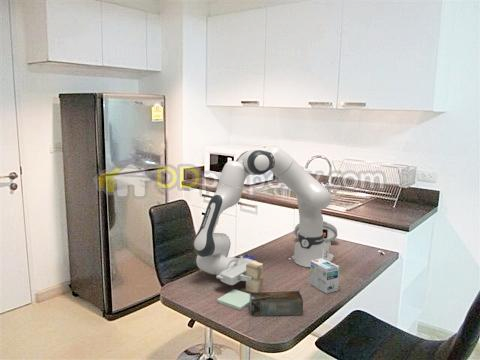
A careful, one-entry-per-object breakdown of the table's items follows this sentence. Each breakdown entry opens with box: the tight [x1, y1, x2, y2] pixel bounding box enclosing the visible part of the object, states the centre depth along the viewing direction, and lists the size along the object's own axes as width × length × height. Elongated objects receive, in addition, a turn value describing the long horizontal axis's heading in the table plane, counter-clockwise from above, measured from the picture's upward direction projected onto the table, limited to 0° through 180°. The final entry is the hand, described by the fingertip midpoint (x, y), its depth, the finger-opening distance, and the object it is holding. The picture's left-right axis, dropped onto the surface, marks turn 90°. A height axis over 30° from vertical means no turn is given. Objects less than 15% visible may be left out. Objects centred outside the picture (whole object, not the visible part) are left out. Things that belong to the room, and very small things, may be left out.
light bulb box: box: [309, 258, 340, 294], centre depth 167 cm, size 11×7×11 cm, turn 30°
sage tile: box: [216, 289, 250, 311], centre depth 155 cm, size 11×11×1 cm
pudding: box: [242, 254, 256, 261], centre depth 189 cm, size 12×12×5 cm
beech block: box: [245, 260, 264, 293], centre depth 164 cm, size 5×5×11 cm
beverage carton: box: [249, 290, 304, 317], centre depth 148 cm, size 8×19×7 cm, turn 93°
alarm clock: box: [293, 220, 338, 246], centre depth 222 cm, size 23×6×13 cm, turn 79°
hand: (256, 276), depth 164 cm, fingers closed on beech block, 5 cm apart
